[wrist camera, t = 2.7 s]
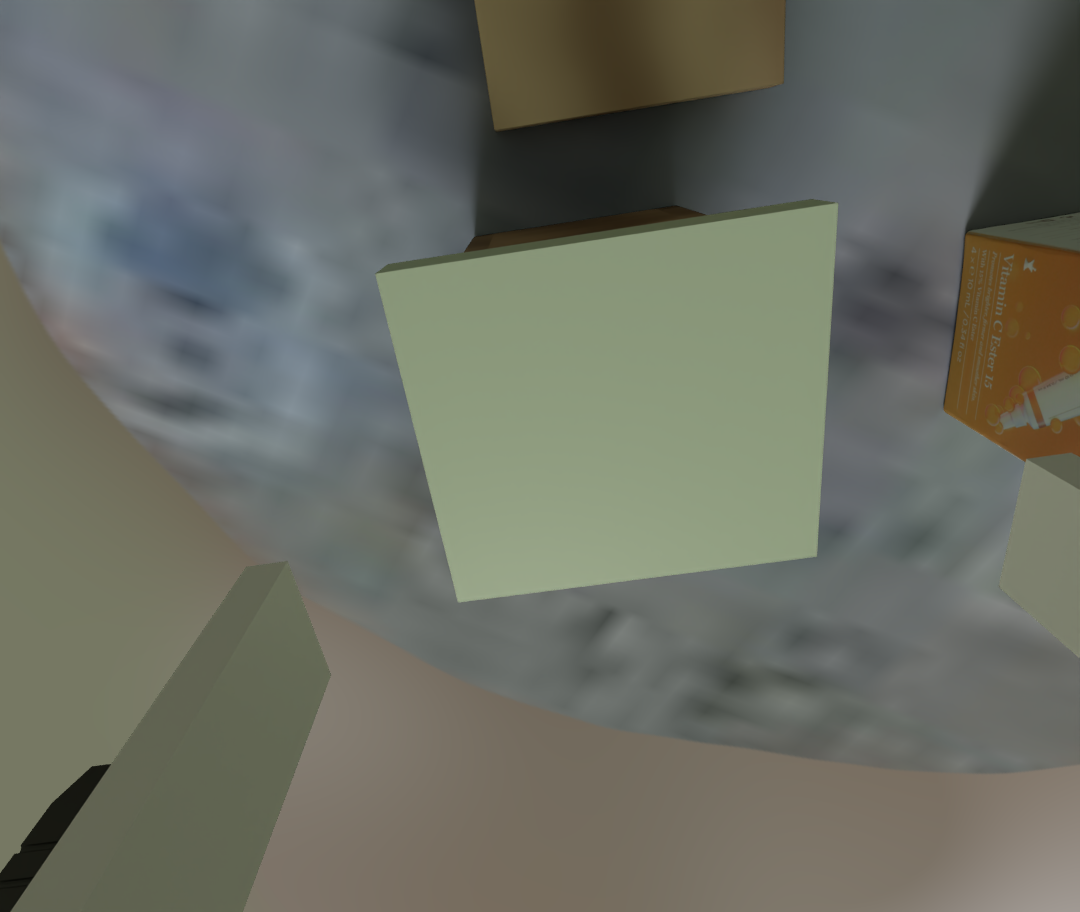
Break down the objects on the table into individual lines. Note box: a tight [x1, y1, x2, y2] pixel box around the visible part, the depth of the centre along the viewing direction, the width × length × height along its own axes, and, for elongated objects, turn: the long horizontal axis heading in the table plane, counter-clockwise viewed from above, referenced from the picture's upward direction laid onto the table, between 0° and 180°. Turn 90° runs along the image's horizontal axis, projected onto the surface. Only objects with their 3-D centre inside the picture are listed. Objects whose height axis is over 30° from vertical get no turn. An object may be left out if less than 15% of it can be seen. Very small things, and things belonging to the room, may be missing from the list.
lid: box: [376, 199, 838, 602], centre depth 18 cm, size 11×10×3 cm
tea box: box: [464, 206, 705, 252], centre depth 22 cm, size 8×9×9 cm
